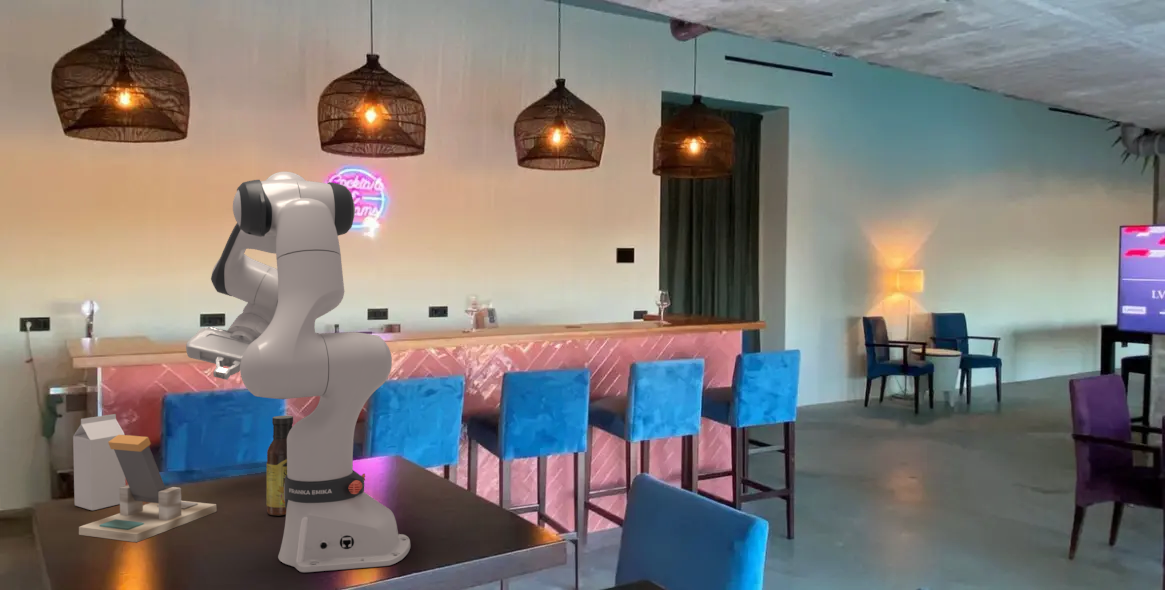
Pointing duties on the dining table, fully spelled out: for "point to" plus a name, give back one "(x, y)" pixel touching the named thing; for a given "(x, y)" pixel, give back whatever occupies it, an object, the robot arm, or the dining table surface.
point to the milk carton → (97, 463)
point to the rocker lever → (138, 467)
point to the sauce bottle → (277, 465)
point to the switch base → (147, 516)
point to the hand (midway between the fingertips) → (220, 376)
